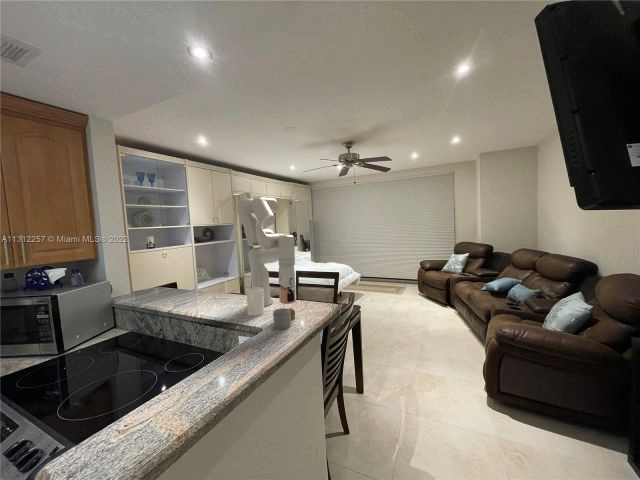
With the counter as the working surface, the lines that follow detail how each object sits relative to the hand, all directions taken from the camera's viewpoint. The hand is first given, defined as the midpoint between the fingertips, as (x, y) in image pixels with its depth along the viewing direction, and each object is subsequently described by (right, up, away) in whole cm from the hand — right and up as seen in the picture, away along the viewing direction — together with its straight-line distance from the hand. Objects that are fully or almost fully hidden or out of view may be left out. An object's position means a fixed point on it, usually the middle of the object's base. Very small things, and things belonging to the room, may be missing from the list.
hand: (287, 298), depth 118 cm
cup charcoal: (-1, -10, -9) cm, 13 cm away
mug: (-17, -9, +7) cm, 21 cm away
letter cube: (+1, -9, 0) cm, 9 cm away
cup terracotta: (0, -1, 0) cm, 1 cm away
